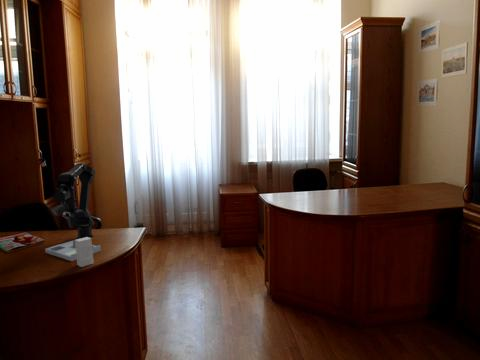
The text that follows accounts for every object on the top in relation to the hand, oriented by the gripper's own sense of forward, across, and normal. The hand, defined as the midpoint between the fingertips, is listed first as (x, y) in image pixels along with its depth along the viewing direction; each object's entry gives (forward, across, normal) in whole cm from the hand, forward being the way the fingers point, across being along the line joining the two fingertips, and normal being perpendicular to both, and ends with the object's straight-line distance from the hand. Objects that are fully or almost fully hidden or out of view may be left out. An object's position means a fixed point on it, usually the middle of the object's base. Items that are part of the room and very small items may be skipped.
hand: (71, 228), depth 205 cm
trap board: (+10, +7, -4) cm, 13 cm away
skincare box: (+10, +28, -10) cm, 31 cm away
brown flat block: (+8, +6, 0) cm, 10 cm away
